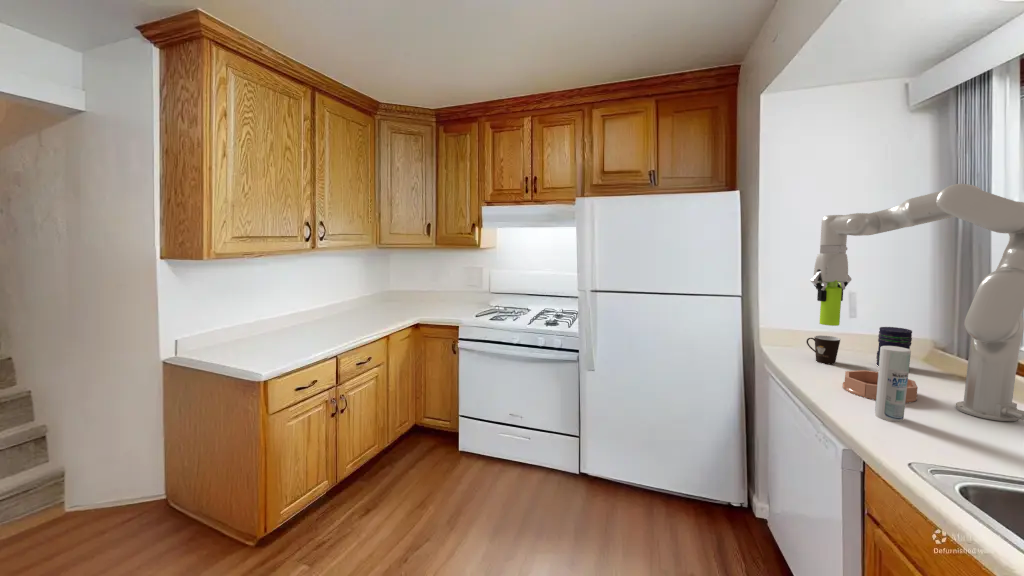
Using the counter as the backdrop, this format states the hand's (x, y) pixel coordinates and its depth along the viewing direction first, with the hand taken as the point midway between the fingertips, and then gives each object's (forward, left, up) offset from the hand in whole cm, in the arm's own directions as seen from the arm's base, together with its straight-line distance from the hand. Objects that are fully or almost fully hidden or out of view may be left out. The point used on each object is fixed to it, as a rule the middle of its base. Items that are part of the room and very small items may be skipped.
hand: (829, 300), depth 162 cm
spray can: (-36, +13, -28) cm, 47 cm away
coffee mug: (+17, -15, -28) cm, 37 cm away
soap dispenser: (0, 0, -9) cm, 9 cm away
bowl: (-18, -3, -28) cm, 33 cm away
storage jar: (+5, -34, -28) cm, 45 cm away
